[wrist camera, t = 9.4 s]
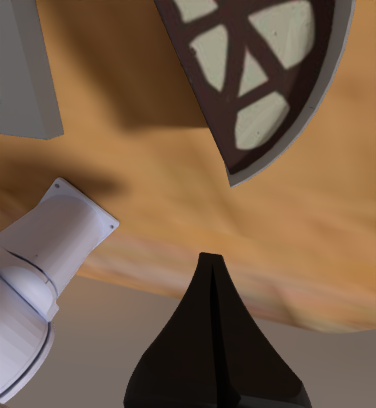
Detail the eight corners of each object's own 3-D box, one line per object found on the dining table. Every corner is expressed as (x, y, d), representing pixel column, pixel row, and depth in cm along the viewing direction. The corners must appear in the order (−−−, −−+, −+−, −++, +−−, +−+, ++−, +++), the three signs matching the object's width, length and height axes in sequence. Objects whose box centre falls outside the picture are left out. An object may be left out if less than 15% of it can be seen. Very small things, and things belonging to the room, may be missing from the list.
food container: (295, 109, 16) (393, 138, 7) (222, 143, 18) (235, 198, 9) (241, -115, 11) (364, -874, 2) (148, -34, 13) (20, -278, 4)
